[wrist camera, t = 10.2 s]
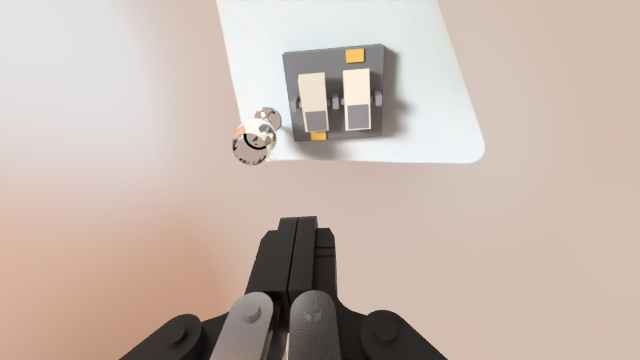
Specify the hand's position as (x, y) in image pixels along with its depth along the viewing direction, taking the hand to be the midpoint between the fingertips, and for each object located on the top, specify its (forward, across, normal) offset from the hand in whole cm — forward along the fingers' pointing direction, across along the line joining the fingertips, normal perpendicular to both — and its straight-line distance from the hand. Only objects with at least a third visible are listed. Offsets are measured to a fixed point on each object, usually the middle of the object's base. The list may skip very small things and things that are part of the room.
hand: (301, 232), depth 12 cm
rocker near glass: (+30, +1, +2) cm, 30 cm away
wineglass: (+35, +10, +6) cm, 37 cm away
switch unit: (+35, -2, +2) cm, 35 cm away
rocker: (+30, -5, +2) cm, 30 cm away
